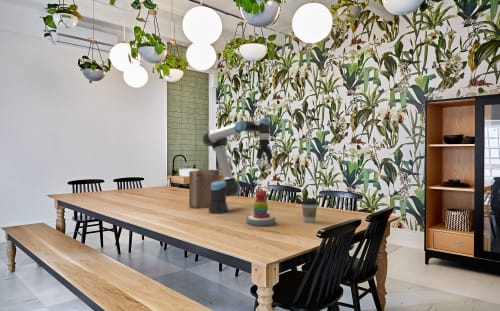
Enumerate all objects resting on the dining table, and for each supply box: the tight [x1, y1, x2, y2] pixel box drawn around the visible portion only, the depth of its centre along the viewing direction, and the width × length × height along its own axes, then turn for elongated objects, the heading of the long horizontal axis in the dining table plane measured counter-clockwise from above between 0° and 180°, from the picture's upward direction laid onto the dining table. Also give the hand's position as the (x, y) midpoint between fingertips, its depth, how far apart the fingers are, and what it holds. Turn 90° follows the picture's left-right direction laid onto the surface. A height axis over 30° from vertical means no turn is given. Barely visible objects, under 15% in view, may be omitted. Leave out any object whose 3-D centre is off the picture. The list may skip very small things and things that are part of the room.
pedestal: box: [246, 214, 276, 227], centre depth 230 cm, size 19×19×4 cm
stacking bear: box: [253, 189, 271, 218], centre depth 230 cm, size 11×10×18 cm
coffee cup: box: [300, 198, 319, 224], centre depth 235 cm, size 11×11×15 cm
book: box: [188, 169, 220, 209], centre depth 295 cm, size 25×9×30 cm, turn 138°
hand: (264, 168), depth 258 cm, fingers open, 13 cm apart
